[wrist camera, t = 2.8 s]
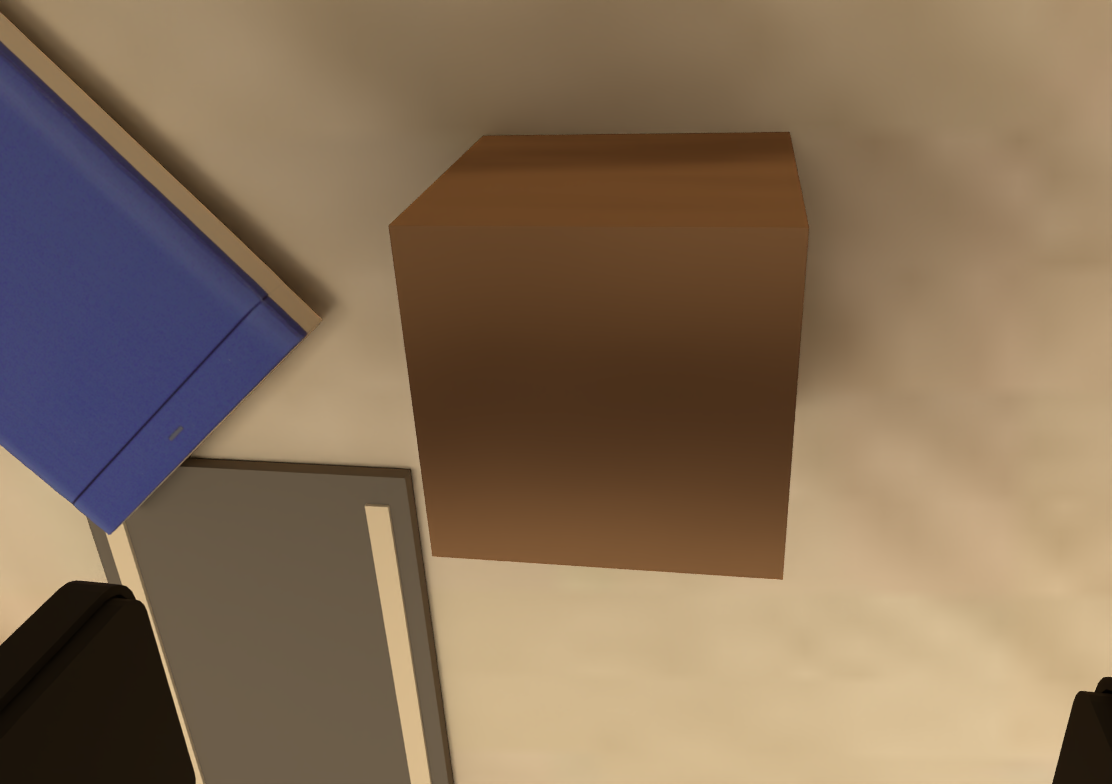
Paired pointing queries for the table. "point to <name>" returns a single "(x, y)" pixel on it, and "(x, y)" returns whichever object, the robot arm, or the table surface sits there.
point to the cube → (607, 349)
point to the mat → (289, 621)
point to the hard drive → (116, 299)
